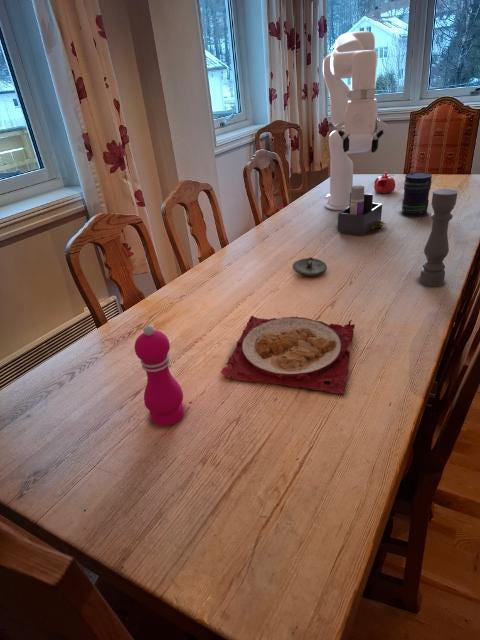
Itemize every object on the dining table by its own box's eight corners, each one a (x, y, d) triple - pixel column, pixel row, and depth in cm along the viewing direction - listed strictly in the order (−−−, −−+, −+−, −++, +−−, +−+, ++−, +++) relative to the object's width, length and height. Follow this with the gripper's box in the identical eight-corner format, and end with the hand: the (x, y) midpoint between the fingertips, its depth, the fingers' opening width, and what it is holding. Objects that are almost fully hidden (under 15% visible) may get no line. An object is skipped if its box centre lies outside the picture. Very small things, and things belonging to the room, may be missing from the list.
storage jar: (432, 212, 172) (437, 174, 164) (416, 218, 167) (421, 179, 160) (411, 208, 179) (415, 171, 172) (395, 213, 175) (399, 176, 167)
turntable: (329, 228, 166) (329, 227, 166) (357, 218, 173) (357, 217, 173) (362, 238, 154) (362, 237, 154) (390, 226, 162) (390, 225, 162)
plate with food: (251, 322, 110) (250, 310, 108) (354, 329, 102) (355, 316, 100) (219, 380, 91) (217, 367, 89) (343, 394, 83) (343, 380, 81)
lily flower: (383, 220, 168) (384, 208, 166) (389, 230, 158) (391, 218, 156) (352, 221, 170) (353, 210, 168) (356, 232, 160) (357, 220, 157)
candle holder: (442, 277, 122) (457, 188, 109) (444, 287, 117) (459, 195, 104) (419, 276, 124) (431, 188, 111) (419, 285, 119) (432, 195, 106)
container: (361, 225, 162) (363, 185, 155) (363, 229, 158) (365, 188, 151) (348, 226, 163) (350, 185, 155) (350, 230, 159) (352, 189, 151)
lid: (305, 266, 140) (301, 252, 138) (332, 264, 134) (329, 249, 132) (289, 280, 133) (285, 266, 131) (317, 279, 127) (313, 263, 125)
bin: (356, 218, 172) (358, 187, 166) (380, 221, 166) (383, 189, 160) (337, 231, 161) (338, 198, 155) (362, 235, 155) (365, 200, 149)
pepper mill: (150, 404, 85) (129, 318, 75) (186, 400, 85) (170, 313, 75) (146, 430, 79) (123, 340, 69) (186, 425, 79) (167, 334, 69)
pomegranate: (386, 188, 210) (388, 168, 205) (399, 192, 201) (401, 171, 197) (368, 191, 207) (370, 171, 203) (381, 195, 199) (382, 175, 194)
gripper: (332, 97, 140) (331, 153, 149) (386, 95, 131) (381, 154, 140) (341, 95, 145) (340, 149, 154) (393, 93, 136) (388, 149, 145)
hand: (359, 151), depth 147 cm, fingers open, 9 cm apart
